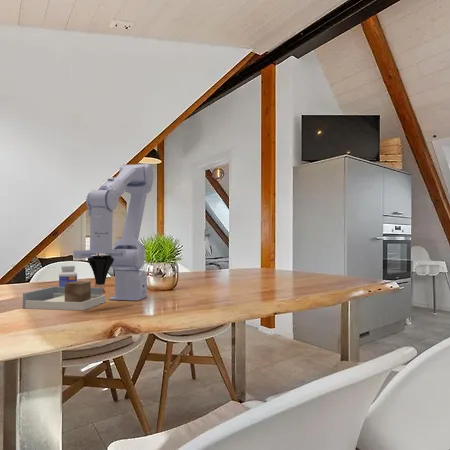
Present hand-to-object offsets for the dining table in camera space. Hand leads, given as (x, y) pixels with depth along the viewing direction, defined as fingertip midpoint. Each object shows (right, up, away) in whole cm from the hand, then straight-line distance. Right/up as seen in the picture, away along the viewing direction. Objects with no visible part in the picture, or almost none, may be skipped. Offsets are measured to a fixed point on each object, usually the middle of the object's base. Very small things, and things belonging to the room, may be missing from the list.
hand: (100, 284), depth 99 cm
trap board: (-11, -7, +5) cm, 14 cm away
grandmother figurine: (-10, -8, +28) cm, 30 cm away
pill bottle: (-18, -7, +21) cm, 28 cm away
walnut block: (-6, -5, +1) cm, 8 cm away
